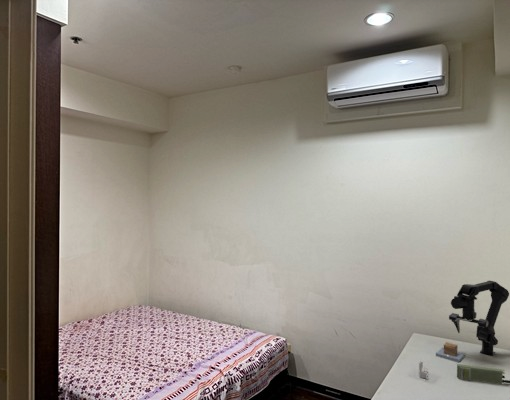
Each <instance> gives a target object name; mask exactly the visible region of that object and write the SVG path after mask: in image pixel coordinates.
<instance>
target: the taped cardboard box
mask: <svg viewBox="0 0 510 400" xmlns="http://www.w3.org/2000/svg"><path fill="white" fill-rule="evenodd" d="M458 346H459V345H458V344H456V343H452V342H449V341H446V342H445V343H444V344H443V348H444V354H448V355H452V356H455V355H456V354H457V352H458Z"/></svg>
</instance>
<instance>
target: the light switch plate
mask: <svg viewBox="0 0 510 400" xmlns="http://www.w3.org/2000/svg"><path fill="white" fill-rule="evenodd" d="M435 357H439V358H442V359H446V360H449V361H453V362H456V363H460V362H461V361H463V360H464V358H465V357H466V353H464V352H461V351H457V354H456V355H455V356H452V355H448V354H444V347H441V348H440V349H439V350H437V352H435Z"/></svg>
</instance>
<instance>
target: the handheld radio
mask: <svg viewBox="0 0 510 400" xmlns="http://www.w3.org/2000/svg"><path fill="white" fill-rule="evenodd" d="M456 378H457V379H461V380H467V381H474V382H475V381H476V382H482V383H489V384H490V383H491V384H497V383H498V384H497V385H503V384H502V383H504V384H505V383H506V384H510V380H508V379H505V378H506V376H505V369H501V368H495V367H494V368H493V367H486V366H480V365H479V366H476V365H471V364H470V365H469V364H461V363H457V365H456ZM504 379H505V380H504Z"/></svg>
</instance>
